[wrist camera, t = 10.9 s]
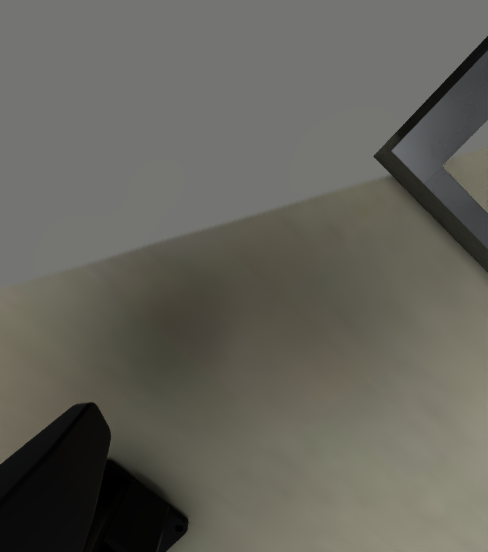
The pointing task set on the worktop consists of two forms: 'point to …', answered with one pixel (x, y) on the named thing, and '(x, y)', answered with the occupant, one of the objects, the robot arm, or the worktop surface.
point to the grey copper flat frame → (445, 152)
